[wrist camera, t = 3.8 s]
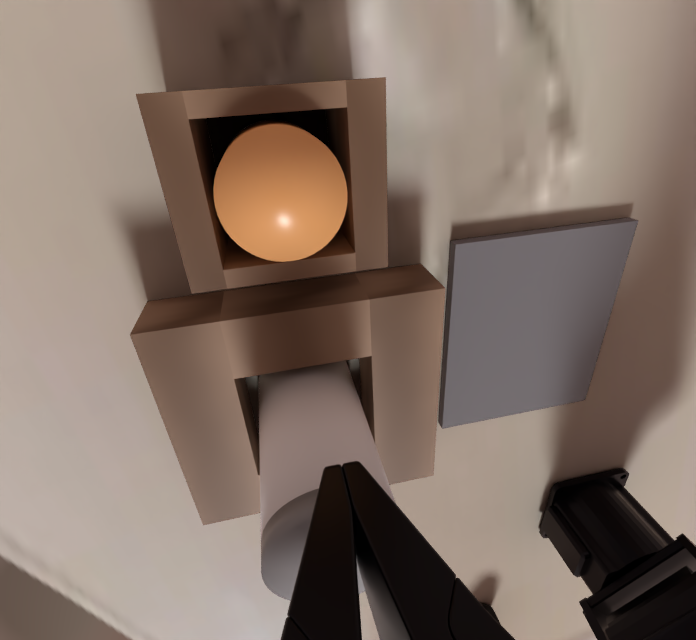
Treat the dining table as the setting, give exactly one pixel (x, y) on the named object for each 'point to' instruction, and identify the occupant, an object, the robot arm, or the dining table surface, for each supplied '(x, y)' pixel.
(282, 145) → the release button
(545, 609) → the dining table surface
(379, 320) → the socket block
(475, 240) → the mat
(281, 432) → the cylinder
